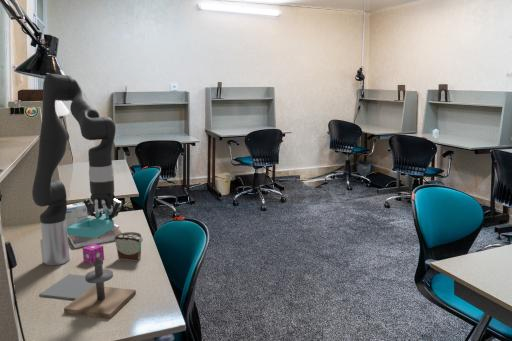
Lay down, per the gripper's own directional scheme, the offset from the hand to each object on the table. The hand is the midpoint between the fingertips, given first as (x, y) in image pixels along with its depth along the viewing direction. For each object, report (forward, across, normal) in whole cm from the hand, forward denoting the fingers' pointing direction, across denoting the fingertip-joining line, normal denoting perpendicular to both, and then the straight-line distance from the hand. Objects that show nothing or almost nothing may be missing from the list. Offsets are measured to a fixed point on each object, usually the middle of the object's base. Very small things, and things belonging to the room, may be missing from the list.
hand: (105, 228), depth 144 cm
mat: (+23, -14, -1) cm, 26 cm away
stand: (+22, +2, -9) cm, 24 cm away
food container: (+23, -7, +28) cm, 37 cm away
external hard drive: (+24, -39, +58) cm, 74 cm away
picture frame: (+24, -35, +45) cm, 62 cm away
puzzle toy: (+23, -21, +22) cm, 38 cm away
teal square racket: (-2, 0, -5) cm, 5 cm away
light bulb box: (+24, -56, +60) cm, 85 cm away
